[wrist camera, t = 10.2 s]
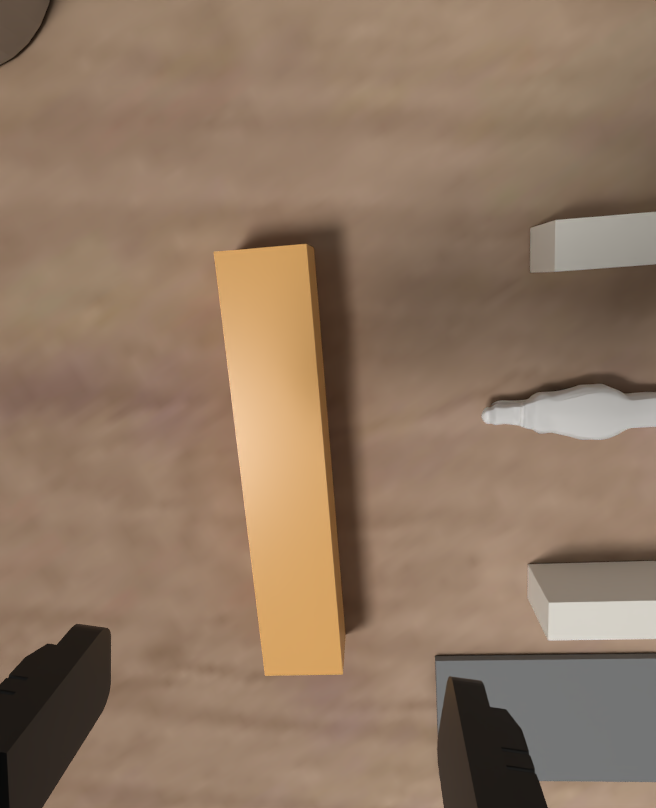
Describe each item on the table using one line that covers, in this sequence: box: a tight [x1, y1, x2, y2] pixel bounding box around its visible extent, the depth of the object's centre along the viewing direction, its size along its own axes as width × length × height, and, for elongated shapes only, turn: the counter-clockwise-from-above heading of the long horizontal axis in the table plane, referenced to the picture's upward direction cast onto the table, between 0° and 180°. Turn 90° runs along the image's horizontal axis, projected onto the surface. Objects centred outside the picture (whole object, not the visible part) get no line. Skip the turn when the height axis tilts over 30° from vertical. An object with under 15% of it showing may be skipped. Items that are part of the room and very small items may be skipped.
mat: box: [435, 653, 656, 782], centre depth 30 cm, size 8×17×1 cm, turn 94°
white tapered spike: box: [482, 384, 656, 440], centre depth 26 cm, size 15×3×2 cm, turn 93°
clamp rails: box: [528, 212, 656, 640], centre depth 25 cm, size 19×10×4 cm, turn 4°
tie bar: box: [214, 244, 346, 676], centre depth 27 cm, size 21×4×4 cm, turn 5°
